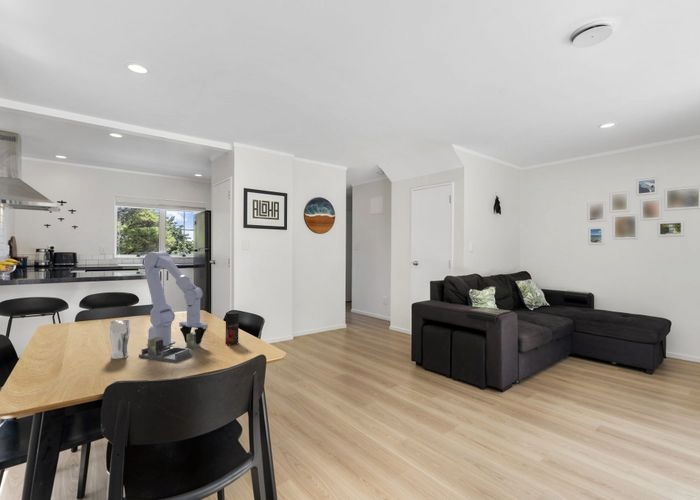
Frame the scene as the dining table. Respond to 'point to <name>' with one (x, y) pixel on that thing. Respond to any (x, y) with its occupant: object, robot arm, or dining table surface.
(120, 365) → the dining table surface
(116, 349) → the beer glass
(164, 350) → the grey slotted rack
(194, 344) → the sage green rectangular prism
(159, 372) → the dining table surface
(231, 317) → the deodorant
